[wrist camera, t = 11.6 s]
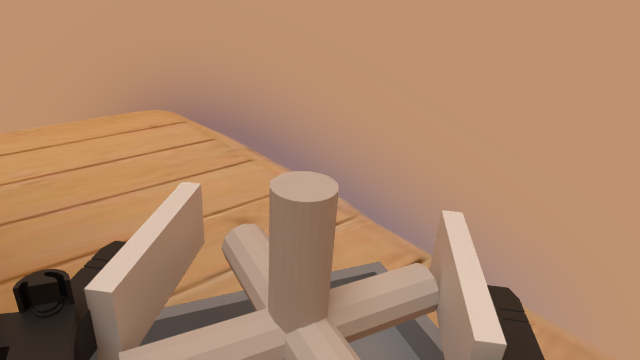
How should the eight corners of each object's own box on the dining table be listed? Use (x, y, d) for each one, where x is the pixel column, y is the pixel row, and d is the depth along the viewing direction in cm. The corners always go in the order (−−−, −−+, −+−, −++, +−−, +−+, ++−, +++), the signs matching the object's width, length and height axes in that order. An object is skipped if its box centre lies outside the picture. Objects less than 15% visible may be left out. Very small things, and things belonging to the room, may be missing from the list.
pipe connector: (341, 308, 22) (361, 113, 18) (497, 502, 15) (598, 241, 10) (123, 379, 18) (81, 143, 14) (182, 715, 10) (126, 409, 6)
